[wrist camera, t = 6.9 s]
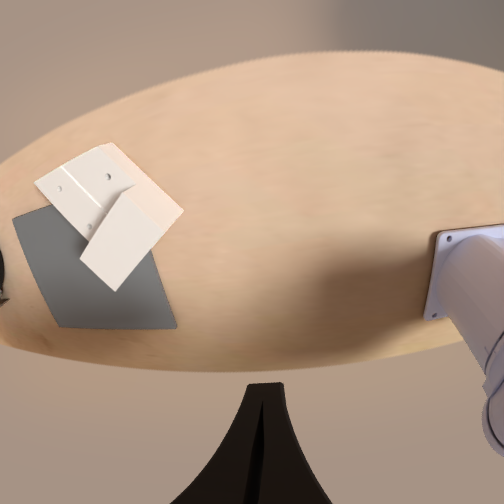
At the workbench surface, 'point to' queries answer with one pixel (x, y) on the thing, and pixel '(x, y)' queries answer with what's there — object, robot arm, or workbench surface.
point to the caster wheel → (1, 277)
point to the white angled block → (110, 209)
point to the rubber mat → (88, 279)
